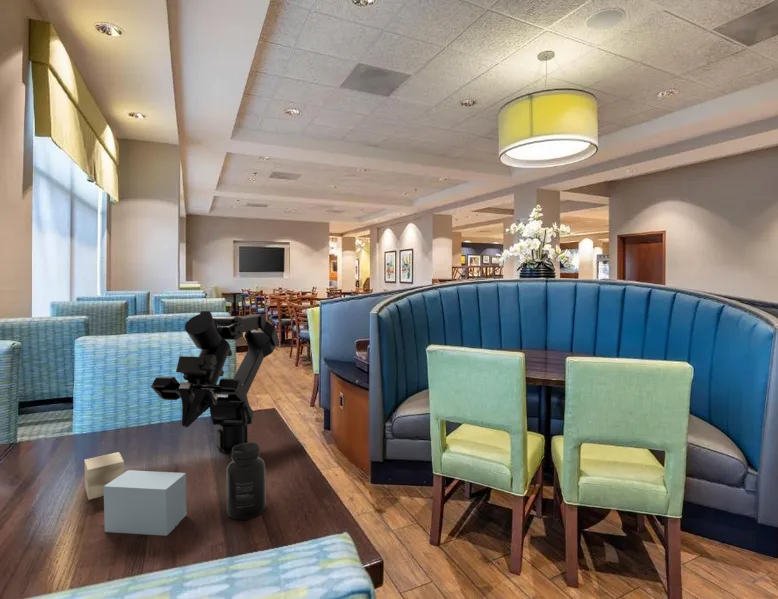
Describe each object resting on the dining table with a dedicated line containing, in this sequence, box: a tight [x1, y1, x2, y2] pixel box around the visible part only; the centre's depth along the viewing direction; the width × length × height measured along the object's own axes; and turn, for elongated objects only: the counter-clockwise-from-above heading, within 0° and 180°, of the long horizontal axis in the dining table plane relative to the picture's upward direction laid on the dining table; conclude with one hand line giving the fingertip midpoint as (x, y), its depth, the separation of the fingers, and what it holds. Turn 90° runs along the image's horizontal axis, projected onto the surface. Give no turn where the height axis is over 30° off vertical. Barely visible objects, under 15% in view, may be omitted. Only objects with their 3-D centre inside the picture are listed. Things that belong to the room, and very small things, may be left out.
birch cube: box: [84, 451, 125, 501], centre depth 86 cm, size 6×6×6 cm
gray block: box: [103, 469, 187, 537], centre depth 74 cm, size 6×11×8 cm, turn 85°
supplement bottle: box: [225, 442, 267, 521], centre depth 79 cm, size 7×7×12 cm
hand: (184, 426), depth 86 cm, fingers closed
